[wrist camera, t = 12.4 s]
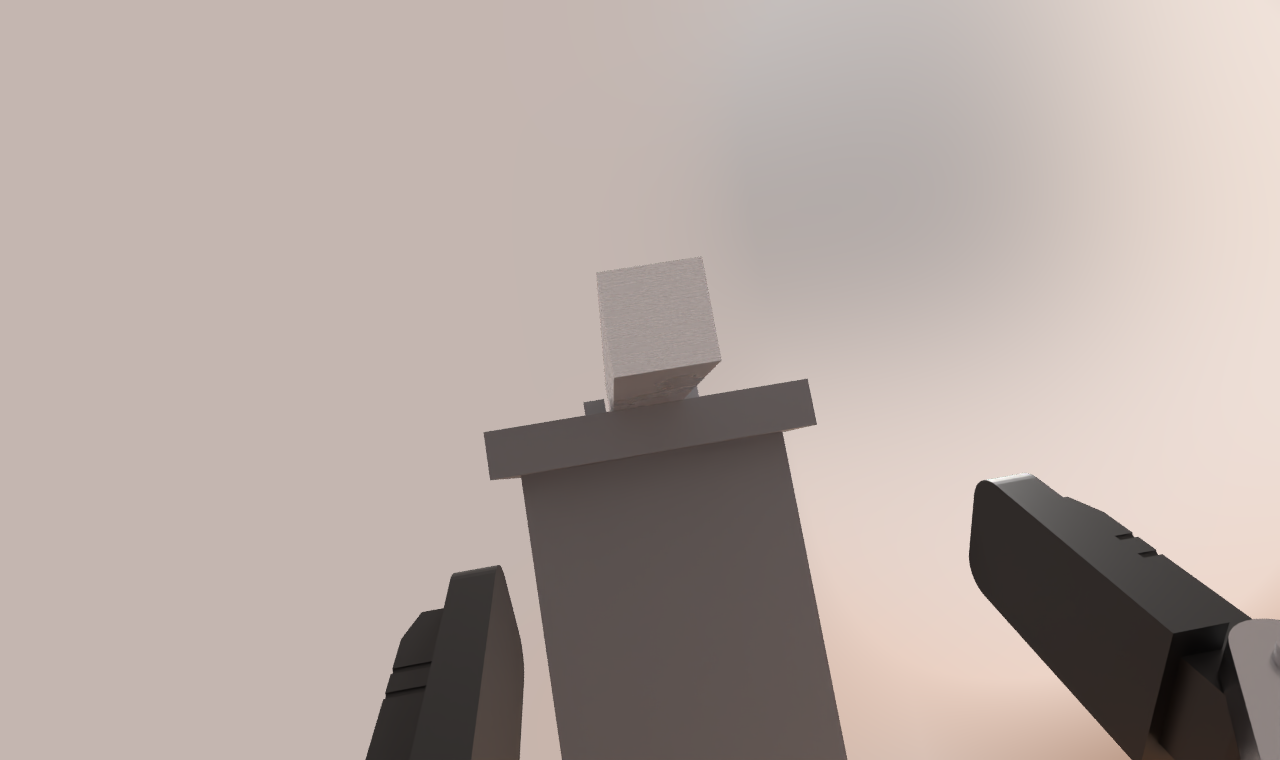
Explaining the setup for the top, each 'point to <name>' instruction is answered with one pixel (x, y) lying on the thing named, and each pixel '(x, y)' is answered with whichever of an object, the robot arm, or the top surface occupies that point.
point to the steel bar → (655, 332)
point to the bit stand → (676, 579)
